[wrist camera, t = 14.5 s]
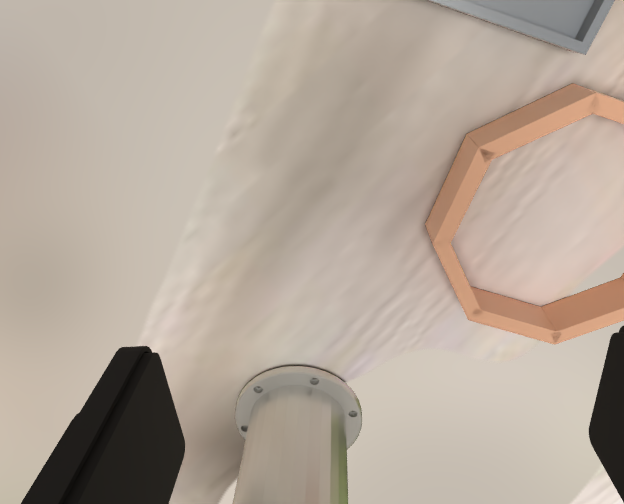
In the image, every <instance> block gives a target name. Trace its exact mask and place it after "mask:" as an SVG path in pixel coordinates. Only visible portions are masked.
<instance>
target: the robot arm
mask: <svg viewBox="0 0 624 504" xmlns="http://www.w3.org/2000/svg"><path fill="white" fill-rule="evenodd" d="M235 420H236V425H237V428H238V430H239V432H240V434H241V436H242V437H243V438H244V440H245V445H244V450H243V455H242V460H241V465H240V470H239V475H238V480H237V486H236V490H235V495H234V500H233V504H348V482H347V481H348V480H347V449H348V448H349V447H350V446H351V445H352V444H353V443H354V442H355V440H356V439H357V437H358V435H359V433H360V430H361V426H362V412H361V406H360V403H359V400H358V398H357V396H356V395H355V393H354V392H353V390H352V389H351V388H350V387H349V386H348V385H347V384H346V383H345V382H343V381H342V380H341V379H339V378H338V377H336V376H334V375H332V374H330V373H328V372H326V371H322V370H319V369H316V368H311V367H304V366H287V367H280V368H275V369H272V370H269V371H266V372H264V373H262V374H260V375H258V376H256V377H255V378H254V379H252V380H251V381H250V382H249V383H248V384H247V385H246V386H245V387H244V389H243V390H242V391H241V393H240V396H239V398H238V401H237V405H236V409H235ZM589 437H590V441H591V444H592V446H593V448H594V450H595V452H596V454H597V456H598V457H599V459H600V461H601V463H602V464H603V466H604V468H605V470H606V472H607V473H608V475H609V477H610V479H611V481H612V482H613V484H614V486H615V488H616V489H617V491H618V493H619V495H620V497H621V498H622V500H623V502H624V326H622V327H621V328H620V330H619V333H614V334H613V335H612V336H611V339H610V343H609V347H608V351H607V355H606V360H605V364H604V368H603V372H602V376H601V380H600V384H599V389H598V393H597V397H596V401H595V405H594V409H593V413H592V418H591V422H590V426H589ZM184 453H185V441H184V436H183V433H182V430H181V426H180V423H179V420H178V416H177V413H176V409H175V406H174V403H173V399H172V396H171V393H170V389H169V386H168V383H167V379H166V376H165V372H164V369H163V366H162V362H161V359H160V356H159V354H158V353H152V351H151V349H150V348H149V347H147V346H139V347H122V348H120V349H119V350H118V351H117V352H116V354H115V355H114V357H113V359H112V360H111V362H110V364H109V365H108V367H107V369H106V370H105V372H104V374H103V375H102V377H101V378H100V380H99V382H98V383H97V385H96V387H95V388H94V390H93V391H92V393H91V395H90V396H89V398H88V400H87V401H86V403H85V405H84V406H83V408H82V410H81V411H80V413H78V414H77V415H76V416H75V417H74V419H73V420H72V421H71V423H70V425H69V426H68V428H67V430H66V431H65V433H64V434H63V436H62V438H61V439H60V441H59V442H58V444H57V446H56V447H55V449H54V451H53V452H52V454H51V455H50V457H49V459H48V460H47V462H46V464H45V465H44V467H43V468H42V470H41V472H40V473H39V475H38V477H37V478H36V480H35V481H34V483H33V485H32V486H31V488H30V490H29V491H28V493H27V494H26V496H25V498H24V499H23V501H22V503H21V504H169V501H170V497H171V494H172V491H173V488H174V485H175V482H176V479H177V476H178V473H179V470H180V467H181V464H182V461H183V457H184Z"/></svg>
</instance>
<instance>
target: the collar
mask: <svg viewBox="0 0 624 504" xmlns="http://www.w3.org/2000/svg"><path fill="white" fill-rule="evenodd" d="M591 114H596V115H599V116H602V117H605V118H608V119H611V120H614V121H617V122H620V123H622V124H624V101H623V100H620V99H617V98H614V97H611V96H608V95H605V94H602V93H600V92H597V91H594V90H591V89H588V88H585V87H582V86H579V85H576V84H573V83H572V84H570V85H568V86H566V87H564V88H562V89H560V90H557V91H555V92H553V93H551V94H549V95H547V96H545V97H543V98H541V99H539V100H537V101H534V102H532V103H530V104H528V105H526V106H524V107H522V108H520V109H518V110H516V111H514V112H511V113H509V114H507V115H505V116H503V117H501V118H499V119H497V120H495V121H493V122H490V123H488V124H486V125H484V126H482V127H480V128H478V129H476V130H474V131H472V132H470V133H467V134H466V136H465V138H464V140H463V143H462V145H461V147H460V149H459V151H458V154H457V156H456V158H455V160H454V162H453V164H452V167H451V169H450V171H449V173H448V175H447V178H446V180H445V182H444V184H443V186H442V188H441V191H440V193H439V195H438V197H437V199H436V202H435V204H434V206H433V208H432V210H431V212H430V215H429V217H428V219H427V221H426V223H425V225H426V228H427V231H428V233H429V236H430V238H431V241H432V244H433V246H434V248H435V250H436V252H437V254H438V257H439V259H440V261H441V263H442V265H443V267H444V269H445V272H446V274H447V276H448V278H449V280H450V282H451V284H452V286H453V289H454V291H455V293H456V295H457V297H458V299H459V301H460V303H461V306H462V308H463V310H464V312H465V314H466V316H467V318H468V320H470V321H474V322H477V323H481V324H484V325H488V326H491V327H495V328H498V329H502V330H505V331H509V332H512V333H516V334H519V335H523V336H527V337H530V338H534V339H537V340H541V341H544V342H548V343H551V344H558V343H560V342H563V341H566V340H569V339H572V338H575V337H577V336H581V335H583V334H586V333H589V332H592V331H594V330H598V329H601V328H604V327H606V326H609V325H612V324H615V323H618V322H621V321H624V273H623V275H622V276H621V277H620V278H618V279H615V280H613V281H610V282H607V283H604V284H601V285H599V286H596V287H593V288H591V289H588V290H585V291H582V292H580V293H577V294H574V295H572V296H569V297H566V298H564V299H561V300H558V301H555V302H553V303H550V304H547V305H545V306H542V307H539V306H536V305H533V304H529V303H526V302H522V301H519V300H515V299H512V298H509V297H505V296H502V295H498V294H495V293H491V292H488V291H484V290H481V289H478V288H474V287H471V286H470V285H469V283H468V281H467V278H466V276H465V274H464V272H463V269H462V267H461V265H460V263H459V261H458V258H457V256H456V254H455V252H454V249H453V247H452V245H451V241H452V239H453V237H454V235H455V233H456V231H457V229H458V227H459V225H460V223H461V221H462V219H463V217H464V215H465V213H466V211H467V209H468V207H469V205H470V203H471V201H472V199H473V197H474V195H475V193H476V191H477V189H478V187H479V185H480V183H481V181H482V179H483V177H484V175H485V173H486V171H487V169H488V167H489V164H490V162H491V160H492V159H494V158H497V157H499V156H501V155H503V154H505V153H508V152H510V151H512V150H514V149H516V148H518V147H521V146H523V145H525V144H527V143H529V142H532V141H534V140H536V139H538V138H540V137H543V136H545V135H547V134H549V133H551V132H553V131H556V130H558V129H560V128H562V127H564V126H567V125H569V124H571V123H573V122H575V121H578V120H580V119H582V118H584V117H586V116H588V115H591Z"/></svg>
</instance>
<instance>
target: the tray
mask: <svg viewBox="0 0 624 504" xmlns="http://www.w3.org/2000/svg"><path fill="white" fill-rule="evenodd" d="M427 1H430V2H433V3H436V4H439V5H441V6H444V7H447V8H450V9H453V10H456V11H459V12H461V13H464V14H467V15H470V16H473V17H476V18H478V19H481V20H484V21H487V22H490V23H493V24H496V25H498V26H501V27H504V28H507V29H510V30H513V31H515V32H518V33H521V34H524V35H527V36H530V37H533V38H535V39H538V40H541V41H544V42H547V43H550V44H553V45H555V46H558V47H561V48H564V49H567V50H570V51H573V52H577V53H581V54H585V55H586V53H587V51H588V50H589V48H590V46H591V44H592V42H593V40H594V38H595V36H596V35H597V33H598V31H599V29H600V27H601V25H602V23H603V21H604V20H605V18H606V16H607V14H608V12H609V10H610V8H611V6H612V5H613V3H614V1H615V0H427Z"/></svg>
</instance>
